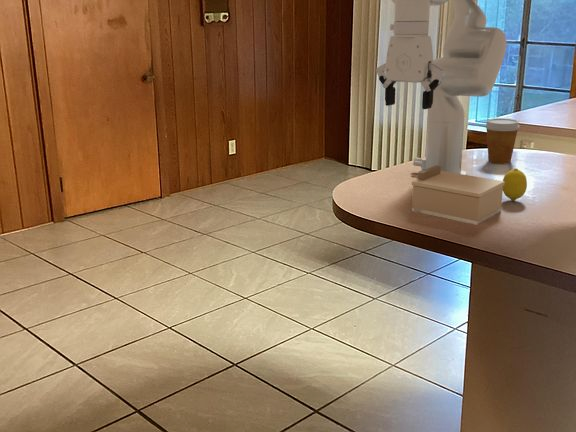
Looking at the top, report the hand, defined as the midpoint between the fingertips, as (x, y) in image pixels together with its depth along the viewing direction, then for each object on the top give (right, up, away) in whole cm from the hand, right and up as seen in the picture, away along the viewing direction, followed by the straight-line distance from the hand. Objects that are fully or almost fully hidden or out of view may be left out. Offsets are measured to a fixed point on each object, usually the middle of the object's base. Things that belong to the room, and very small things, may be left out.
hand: (408, 106), depth 152 cm
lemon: (+26, -22, +5) cm, 34 cm away
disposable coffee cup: (+34, -9, +42) cm, 55 cm away
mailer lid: (+11, -18, -4) cm, 21 cm away
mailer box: (+11, -24, -2) cm, 26 cm away
